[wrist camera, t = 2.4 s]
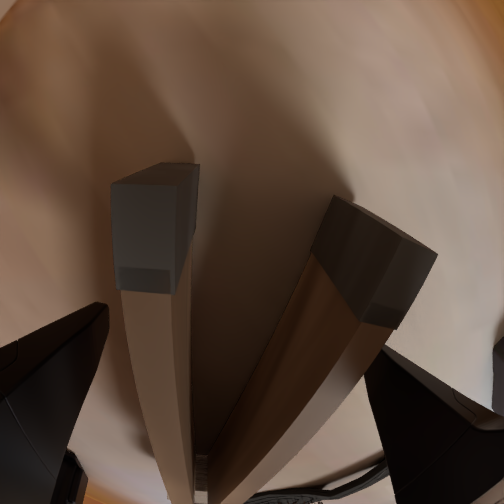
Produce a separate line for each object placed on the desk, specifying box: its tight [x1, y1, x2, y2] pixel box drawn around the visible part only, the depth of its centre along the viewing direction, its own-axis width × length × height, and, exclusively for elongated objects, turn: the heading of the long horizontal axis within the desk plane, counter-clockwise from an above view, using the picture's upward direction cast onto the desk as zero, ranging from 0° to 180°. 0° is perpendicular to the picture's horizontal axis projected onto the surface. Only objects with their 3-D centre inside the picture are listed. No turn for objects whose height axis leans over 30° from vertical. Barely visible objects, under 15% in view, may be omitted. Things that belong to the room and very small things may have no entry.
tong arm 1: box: [207, 195, 438, 504], centre depth 12 cm, size 1×19×6 cm, turn 160°
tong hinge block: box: [167, 454, 208, 504], centre depth 16 cm, size 4×3×3 cm
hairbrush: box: [243, 459, 390, 504], centre depth 21 cm, size 8×4×25 cm
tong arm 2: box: [111, 163, 200, 504], centre depth 11 cm, size 1×19×6 cm, turn 174°
